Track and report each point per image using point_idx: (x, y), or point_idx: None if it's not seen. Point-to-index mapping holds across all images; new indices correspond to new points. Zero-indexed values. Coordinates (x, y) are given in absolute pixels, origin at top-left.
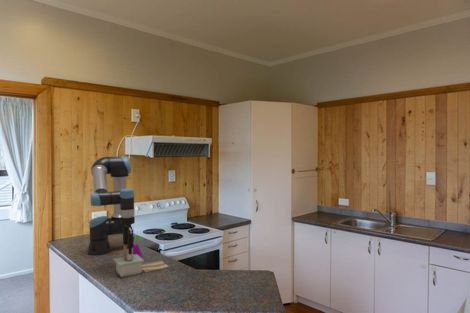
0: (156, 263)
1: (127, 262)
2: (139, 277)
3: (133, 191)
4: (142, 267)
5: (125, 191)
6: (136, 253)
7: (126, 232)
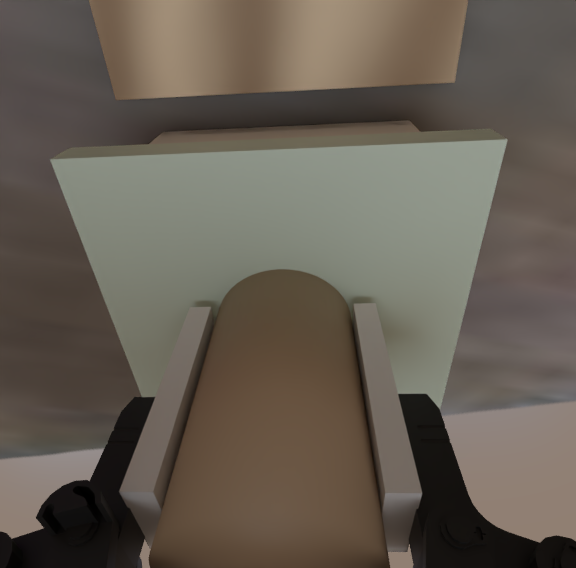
0: None
1: (414, 360)
2: (523, 179)
3: None
4: (252, 65)
5: None
6: None
7: None
